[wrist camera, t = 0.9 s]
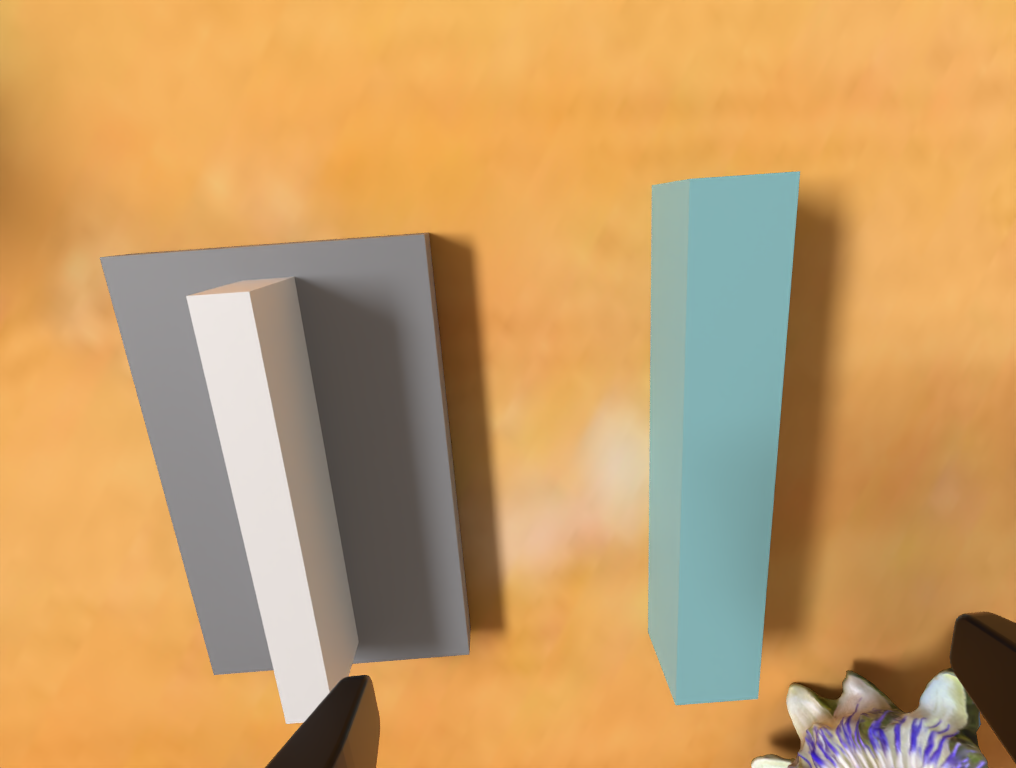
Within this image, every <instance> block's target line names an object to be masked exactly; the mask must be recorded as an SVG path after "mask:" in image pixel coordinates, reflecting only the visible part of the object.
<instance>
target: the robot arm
mask: <svg viewBox="0 0 1016 768" xmlns="http://www.w3.org/2000/svg"><path fill="white" fill-rule="evenodd" d="M950 663H951V667H952V669H953V671H954V673H955V675H956V677H957V678H958V680H959V681H960V683H961V684H962V686H963V687H964V689H965V690H966V692H967V693H968V695H969V696H970V697H971V699H972V700H973V702H974V703H975V705H976V706H977V708H978V709H979V711H980V712H981V714H982V715H983V717H984V718H985V719H986V721H987V722H988V724H989V725H990V727H991V728H992V730H993V731H994V733H995V734H996V736H997V737H998V739H999V740H1000V741H1001V743H1002V744H1003V746H1004V747H1005V749H1006V750H1007V752H1008V753H1009V755H1010V756H1011V758H1012V759H1013V760H1014V762H1015V763H1016V623H1014V622H1012V621H1010V620H1007V619H1005V618H1003V617H1000V616H998V615H996V614H993V613H989V612H977V613H967V614H962V615H960V616H959V617H958V618H957V619H956V622H955V626H954V632H953V638H952V644H951V650H950ZM379 736H380V717H379V711H378V707H377V702H376V697H375V693H374V688H373V684H372V680H371V679H370V677H369V676H367V675H360V676H351V677H345V678H343V679H341V680H340V681H339V682H338V683H337V684H336V685H335V687H334V688H333V689H332V690H331V691H330V692H329V694H328V695H327V696H326V697H325V698H324V699H323V701H322V702H321V703H320V704H319V705H318V706H317V708H316V709H315V710H314V711H313V712H312V713H311V715H310V716H309V717H308V718H307V719H306V720H305V722H304V723H303V724H302V725H301V726H300V727H299V729H298V730H297V731H296V732H295V733H294V734H293V736H292V737H291V738H290V739H289V740H288V741H287V743H286V744H285V745H284V746H283V747H282V748H281V750H280V751H279V752H278V753H277V754H276V755H275V757H274V758H273V759H272V760H271V761H270V762H269V764H268V765H267V766H266V767H265V768H376V763H377V754H378V745H379Z"/></svg>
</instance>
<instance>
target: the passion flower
mask: <svg viewBox="0 0 1016 768" xmlns="http://www.w3.org/2000/svg"><path fill="white" fill-rule="evenodd" d="M842 685H843V692H842V695H841V696H840V697H839V698H838V699H835V700H834V699H827V698H824V697H821V696H819V695H818V694H816V693H815V692H814V691H813V690H812V689H810V688H808V687H806V686H803V685H801V684H798V683H793V684H791V685H790V687H789V690H788V694H787V698H786V703H787V709H788V712H789V715H790V717H791V719H792V722H793V725H794V727H795V729H796V731H797V734H798V735H799V737H800V740H801V746H800V750H799V752H798V755H797V757H796V759H785V758H781V757H779V756H777V755H773V754H770V755H765V756H759V757H756V758H754V759H753V760H752V763H751V768H988V765H987V760H986V758H985V757H984V755H983V754H982V753H981V751H980V749H979V746H978V741H977V734H976V732H977V730H978V728H979V727H980V725H981V723H980V711H979V709H978V708H977V706H976V705H975V703H974V702H973V700H972V699H971V697H970V696H969V695H968V693H967V692H966V690H965V689H964V687H963V686H962V684H961V683H960V681H959V680H958V678H957V677H956V675H955V673H954V671H953V669H952V668H949V669H946V670H943V671H940V672H939V673H938V674H936V675H935V676H934V678H933V679H932V680H931V681H930V682H928V683H927V685H926V687H925V691H924V692H923V694H922V695H921V698H920V701H919V706H918V708H917V709H916V710H915V711H913V712H908V713H905V712H903V711H901V710H900V709H899V708H898V707H897V706H896V705H895V704H894V703H893V702H892V701H891V700H890V699H889V698H888V697H887V696H886V695H885V694H884V693H883V692H881V691H880V690H879V689H878V688H877V687H876V686H875V685H874V684H872V683H871V682H870V681H868V680H867V679H865V678H863V677H862V676H860V675H859V674H857V673H855V672H853V671H846V678H845V679H844V681H843V682H842Z"/></svg>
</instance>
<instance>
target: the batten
mask: <svg viewBox="0 0 1016 768" xmlns="http://www.w3.org/2000/svg"><path fill="white" fill-rule="evenodd" d="M799 178H800V172H785V173H770V174H756V175H741V176H726V177H712V178H697V179H687V180H681V181H675V182H669V183H664V184H658V185H652V240H651V357H650V474H649V590H648V633H649V636H650V638H651V641H652V644H653V646H654V649H655V652H656V654H657V657H658V660H659V662H660V665H661V667H662V670H663V673H664V675H665V678H666V681H667V683H668V686H669V689H670V691H671V694H672V697H673V699H674V702H675V705H685V704H698V703H711V702H724V701H736V700H749V699H758V691H759V679H760V666H761V654H762V641H763V629H764V616H765V604H766V591H767V579H768V566H769V553H770V541H771V528H772V516H773V503H774V491H775V478H776V466H777V453H778V441H779V428H780V416H781V403H782V391H783V378H784V366H785V353H786V341H787V328H788V316H789V303H790V291H791V278H792V266H793V253H794V241H795V228H796V216H797V203H798V191H799Z"/></svg>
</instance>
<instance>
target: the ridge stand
mask: <svg viewBox="0 0 1016 768" xmlns="http://www.w3.org/2000/svg"><path fill="white" fill-rule="evenodd" d="M100 260H101V264H102V267H103V271H104V275H105V278H106V282H107V286H108V289H109V293H110V297H111V300H112V304H113V307H114V311H115V315H116V318H117V322H118V326H119V329H120V333H121V337H122V340H123V344H124V348H125V351H126V355H127V359H128V362H129V366H130V370H131V373H132V377H133V381H134V384H135V388H136V392H137V395H138V399H139V403H140V406H141V410H142V414H143V417H144V421H145V424H146V428H147V432H148V435H149V439H150V443H151V446H152V450H153V454H154V457H155V461H156V465H157V468H158V472H159V476H160V479H161V483H162V487H163V490H164V494H165V498H166V501H167V505H168V509H169V512H170V516H171V520H172V523H173V527H174V530H175V534H176V538H177V541H178V545H179V549H180V552H181V556H182V560H183V563H184V567H185V571H186V574H187V578H188V582H189V585H190V589H191V593H192V596H193V600H194V604H195V607H196V611H197V615H198V618H199V622H200V626H201V629H202V633H203V637H204V640H205V644H206V647H207V651H208V655H209V658H210V662H211V666H212V669H213V673H214V675H218V674H231V673H243V672H256V671H268V670H274V674H275V678H276V682H277V686H278V691H279V695H280V699H281V703H282V708H283V712H284V716H285V720H286V724H290V723H302V722H305V720H306V719H307V718H308V717H309V716H310V715H311V713H312V712H313V711H314V710H315V709H316V708H317V706H318V705H319V704H320V703H321V702H322V701H323V699H324V698H325V697H326V696H327V695H328V694H329V692H330V691H331V690H332V689H333V688H334V687H335V685H336V684H337V683H338V682H339V681H340V680H341V679H343V678H345V677H348V676H349V673H350V669H351V666H352V664H356V663H368V662H381V661H393V660H406V659H418V658H431V657H443V656H456V655H468V654H469V651H470V628H471V627H470V618H469V608H468V599H467V589H466V580H465V570H464V561H463V551H462V542H461V532H460V523H459V513H458V504H457V494H456V485H455V475H454V466H453V456H452V446H451V437H450V427H449V418H448V408H447V399H446V389H445V380H444V370H443V361H442V351H441V342H440V332H439V323H438V313H437V304H436V294H435V285H434V275H433V266H432V256H431V246H430V237H429V233H418V234H404V235H390V236H376V237H362V238H348V239H334V240H320V241H306V242H292V243H278V244H264V245H250V246H236V247H221V248H207V249H193V250H179V251H165V252H151V253H137V254H125V255H117V256H108V257H100Z"/></svg>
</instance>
